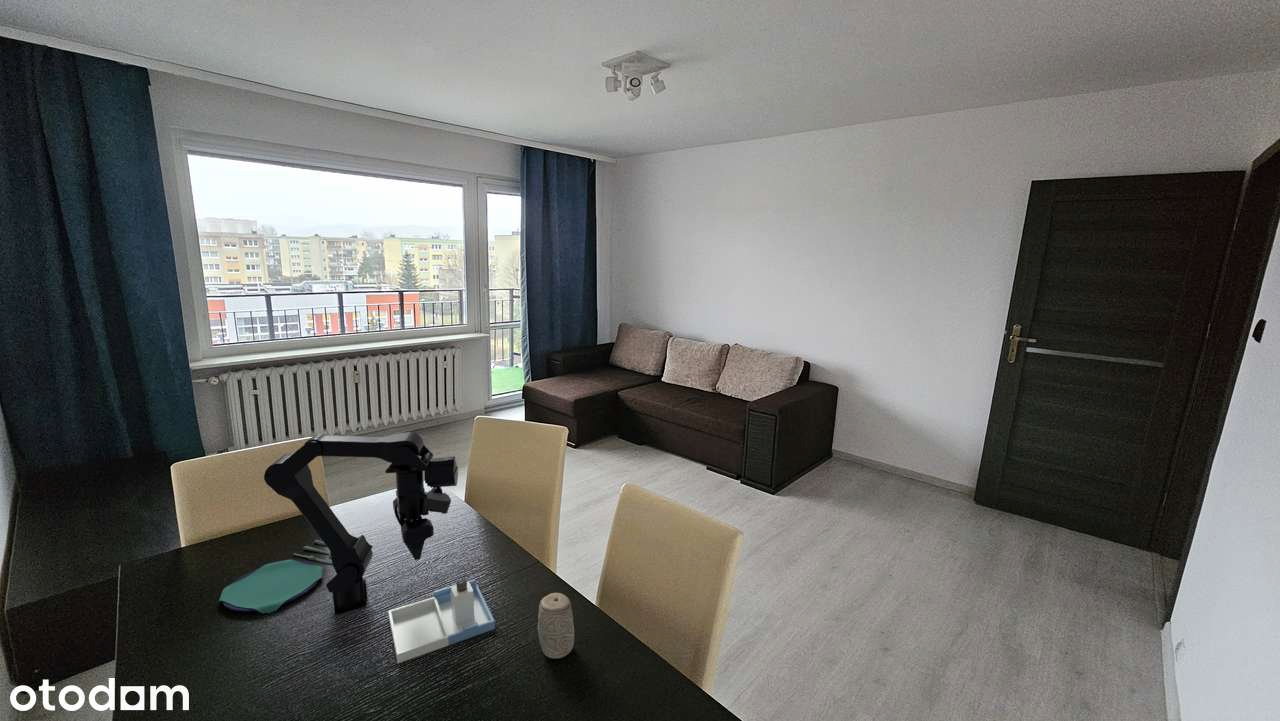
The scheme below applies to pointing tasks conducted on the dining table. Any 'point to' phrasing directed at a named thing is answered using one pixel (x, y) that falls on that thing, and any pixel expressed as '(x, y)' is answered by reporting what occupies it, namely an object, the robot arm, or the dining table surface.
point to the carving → (556, 625)
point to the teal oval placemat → (274, 584)
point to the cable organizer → (435, 624)
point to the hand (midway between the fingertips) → (414, 549)
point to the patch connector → (462, 602)
